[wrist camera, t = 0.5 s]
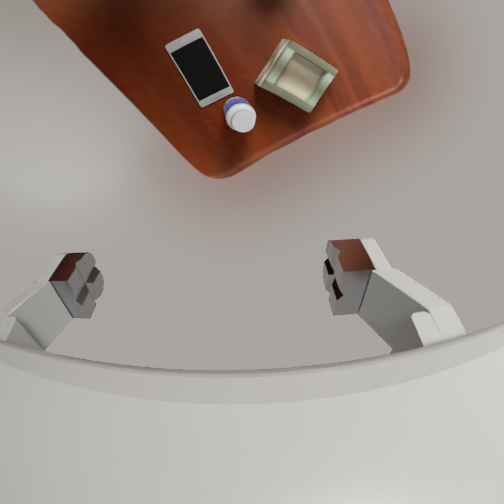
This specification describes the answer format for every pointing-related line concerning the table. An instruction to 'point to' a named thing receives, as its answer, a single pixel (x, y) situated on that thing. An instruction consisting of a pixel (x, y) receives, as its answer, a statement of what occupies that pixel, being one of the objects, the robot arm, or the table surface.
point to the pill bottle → (239, 114)
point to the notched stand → (296, 75)
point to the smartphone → (199, 67)
